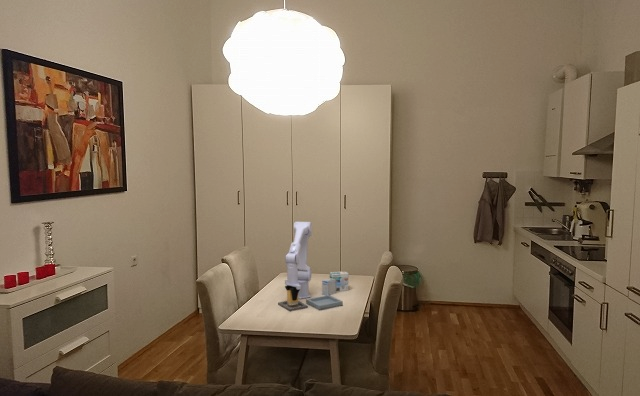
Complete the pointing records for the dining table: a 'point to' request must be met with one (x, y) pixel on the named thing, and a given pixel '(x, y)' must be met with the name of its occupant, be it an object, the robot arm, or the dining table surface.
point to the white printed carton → (340, 280)
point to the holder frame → (302, 306)
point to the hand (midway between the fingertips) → (292, 299)
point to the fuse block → (289, 298)
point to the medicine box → (328, 286)
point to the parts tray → (324, 302)
